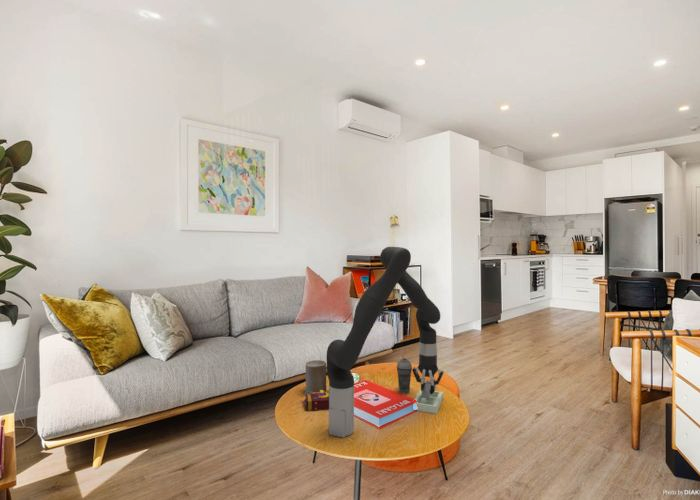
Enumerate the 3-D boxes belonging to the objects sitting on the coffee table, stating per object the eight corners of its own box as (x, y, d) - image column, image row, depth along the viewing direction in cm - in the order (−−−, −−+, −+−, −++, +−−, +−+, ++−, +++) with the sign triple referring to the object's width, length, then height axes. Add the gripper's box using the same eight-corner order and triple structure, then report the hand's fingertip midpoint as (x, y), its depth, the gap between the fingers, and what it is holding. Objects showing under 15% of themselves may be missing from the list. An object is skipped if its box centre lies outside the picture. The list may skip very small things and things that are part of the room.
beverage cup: (407, 396, 177) (407, 352, 177) (393, 392, 181) (393, 349, 181) (414, 391, 183) (415, 349, 182) (401, 388, 187) (401, 346, 187)
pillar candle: (330, 391, 183) (330, 359, 183) (318, 397, 175) (318, 364, 175) (313, 387, 188) (313, 356, 188) (301, 393, 180) (301, 361, 180)
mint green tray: (436, 414, 159) (436, 406, 159) (412, 410, 162) (412, 402, 162) (442, 398, 174) (443, 392, 174) (420, 395, 178) (420, 388, 178)
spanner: (430, 399, 161) (430, 391, 161) (420, 397, 163) (420, 390, 163) (436, 388, 173) (436, 381, 173) (426, 386, 175) (426, 380, 175)
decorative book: (341, 409, 163) (341, 397, 163) (303, 412, 161) (303, 400, 160) (338, 399, 174) (338, 388, 174) (301, 401, 172) (301, 390, 172)
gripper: (409, 353, 166) (409, 393, 166) (443, 356, 161) (443, 398, 161) (413, 348, 173) (413, 387, 173) (445, 352, 168) (445, 392, 168)
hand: (427, 392), depth 167 cm, fingers closed on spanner, 3 cm apart
